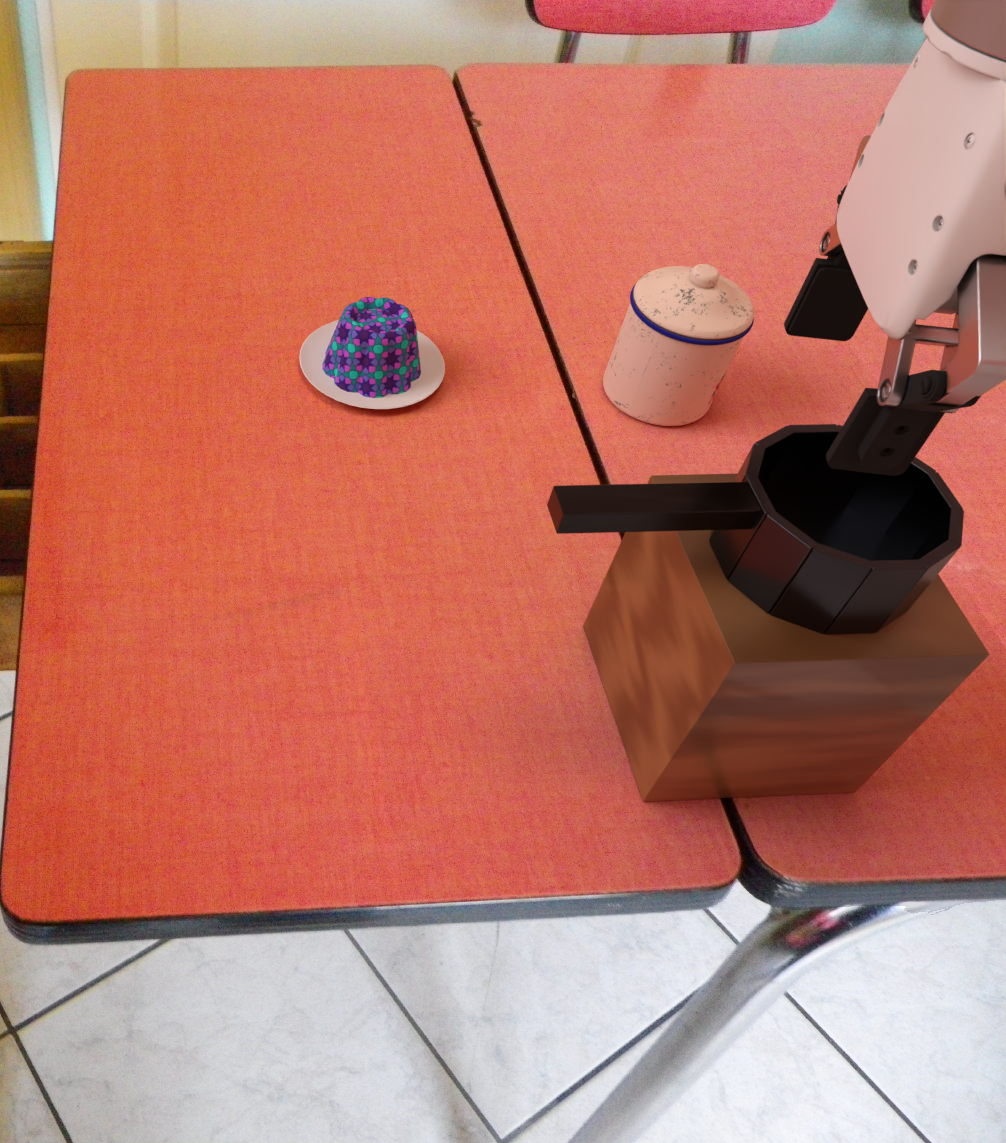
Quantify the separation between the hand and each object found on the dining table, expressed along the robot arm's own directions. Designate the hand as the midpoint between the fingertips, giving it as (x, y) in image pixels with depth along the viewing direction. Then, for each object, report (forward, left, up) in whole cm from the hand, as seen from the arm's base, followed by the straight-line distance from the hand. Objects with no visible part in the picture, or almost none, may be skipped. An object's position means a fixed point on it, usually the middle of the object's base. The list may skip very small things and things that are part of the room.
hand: (837, 397), depth 49 cm
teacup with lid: (+13, -28, -24) cm, 39 cm away
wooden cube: (-3, 0, -24) cm, 24 cm away
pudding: (+32, -15, -24) cm, 43 cm away
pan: (+1, +3, -10) cm, 10 cm away
